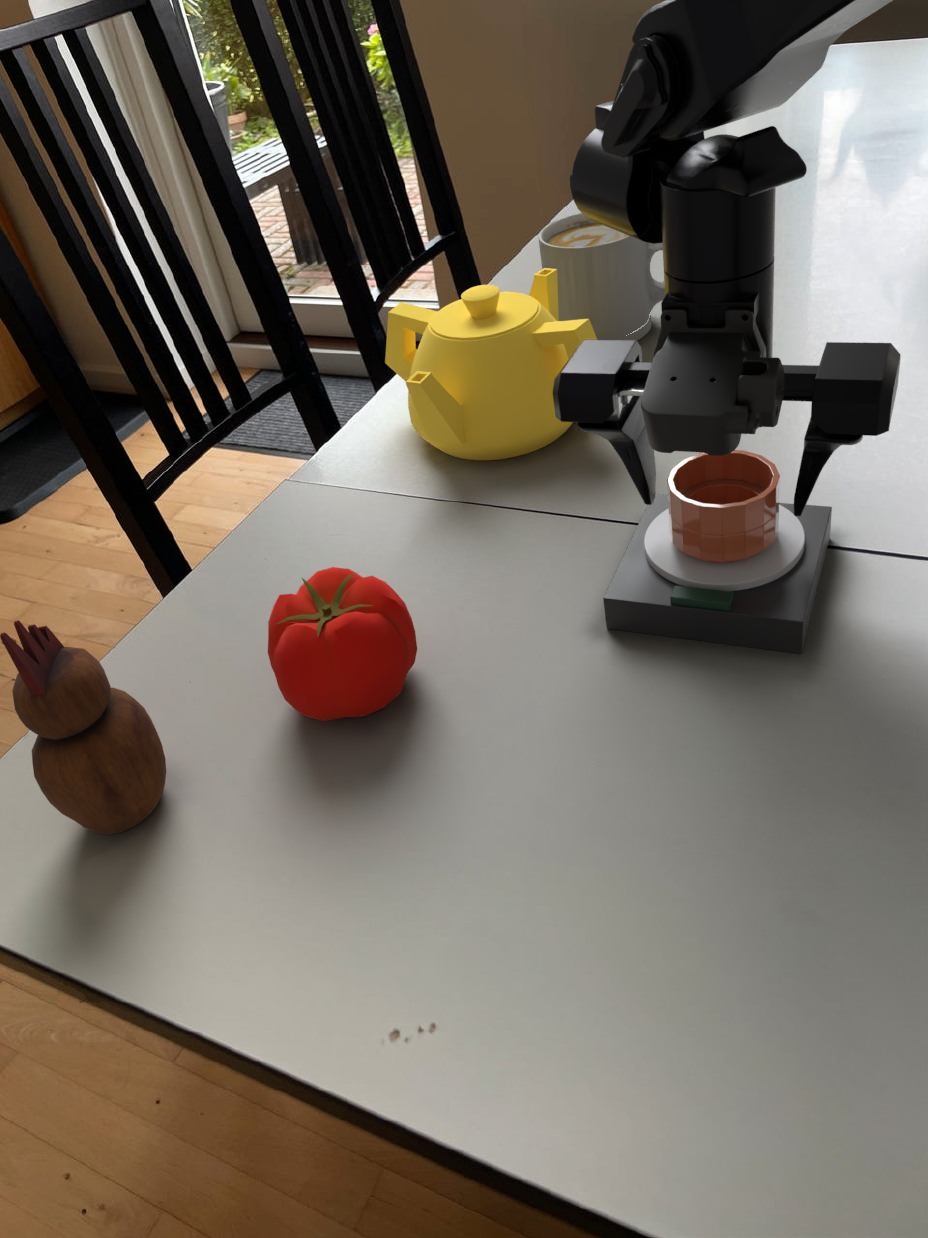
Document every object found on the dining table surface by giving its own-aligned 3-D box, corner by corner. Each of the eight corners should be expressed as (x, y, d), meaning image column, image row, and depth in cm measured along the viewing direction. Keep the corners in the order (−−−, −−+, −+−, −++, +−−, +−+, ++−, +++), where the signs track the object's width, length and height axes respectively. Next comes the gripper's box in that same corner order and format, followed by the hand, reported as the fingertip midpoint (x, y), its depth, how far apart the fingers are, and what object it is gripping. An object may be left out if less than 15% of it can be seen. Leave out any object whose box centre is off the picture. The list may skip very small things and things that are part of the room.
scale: (829, 537, 67) (832, 498, 65) (801, 654, 59) (803, 613, 57) (654, 522, 72) (652, 485, 70) (606, 628, 64) (602, 590, 62)
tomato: (348, 629, 69) (319, 540, 64) (451, 665, 64) (428, 571, 59) (254, 717, 63) (215, 627, 59) (359, 763, 58) (326, 669, 54)
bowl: (785, 512, 65) (787, 452, 62) (767, 573, 60) (768, 511, 58) (684, 504, 68) (681, 446, 65) (659, 562, 63) (655, 503, 60)
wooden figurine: (136, 860, 56) (15, 661, 46) (55, 843, 58) (-76, 649, 48) (198, 769, 60) (99, 572, 51) (121, 757, 62) (13, 566, 53)
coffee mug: (542, 354, 97) (529, 252, 90) (559, 311, 104) (548, 214, 98) (683, 346, 93) (679, 239, 87) (691, 302, 100) (687, 200, 94)
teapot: (623, 442, 81) (611, 300, 74) (426, 494, 80) (394, 356, 73) (564, 363, 95) (549, 236, 87) (394, 407, 94) (364, 282, 86)
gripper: (502, 326, 51) (540, 568, 61) (893, 328, 44) (866, 604, 54) (570, 244, 59) (594, 471, 69) (914, 234, 51) (887, 490, 61)
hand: (722, 506), depth 63 cm, fingers open, 9 cm apart
